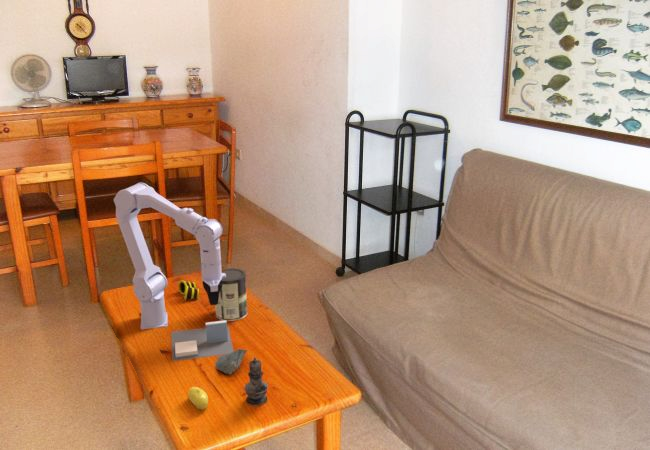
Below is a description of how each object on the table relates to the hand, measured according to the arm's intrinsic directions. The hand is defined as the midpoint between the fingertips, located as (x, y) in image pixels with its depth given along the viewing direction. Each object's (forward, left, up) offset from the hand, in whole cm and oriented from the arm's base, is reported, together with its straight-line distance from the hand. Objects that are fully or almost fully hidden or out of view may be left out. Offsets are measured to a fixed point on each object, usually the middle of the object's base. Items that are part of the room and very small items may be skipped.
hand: (213, 303), depth 178 cm
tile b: (+6, 0, -9) cm, 11 cm away
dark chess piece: (+37, +7, -10) cm, 39 cm away
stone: (+20, +2, -10) cm, 22 cm away
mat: (+5, -5, -10) cm, 12 cm away
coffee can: (-11, +6, -10) cm, 16 cm away
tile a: (+7, -9, -8) cm, 14 cm away
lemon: (+35, -7, -10) cm, 37 cm away
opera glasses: (-29, -7, -10) cm, 31 cm away
